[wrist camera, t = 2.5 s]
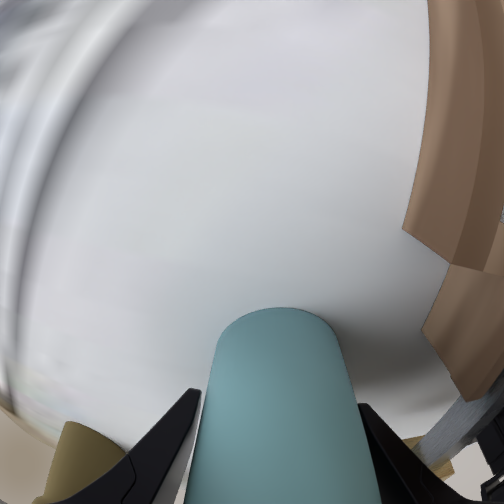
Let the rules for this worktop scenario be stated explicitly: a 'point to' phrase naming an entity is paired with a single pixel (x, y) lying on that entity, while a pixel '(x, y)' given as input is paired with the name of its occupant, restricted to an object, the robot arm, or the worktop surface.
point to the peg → (280, 418)
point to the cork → (78, 462)
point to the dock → (464, 189)
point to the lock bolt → (457, 429)
